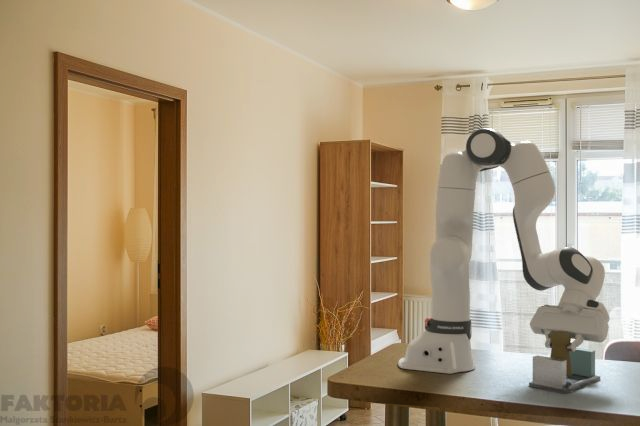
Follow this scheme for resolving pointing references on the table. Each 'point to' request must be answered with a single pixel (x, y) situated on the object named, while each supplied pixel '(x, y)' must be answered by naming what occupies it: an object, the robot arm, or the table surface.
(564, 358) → the cork
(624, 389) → the table surface
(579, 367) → the block
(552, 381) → the vise base
